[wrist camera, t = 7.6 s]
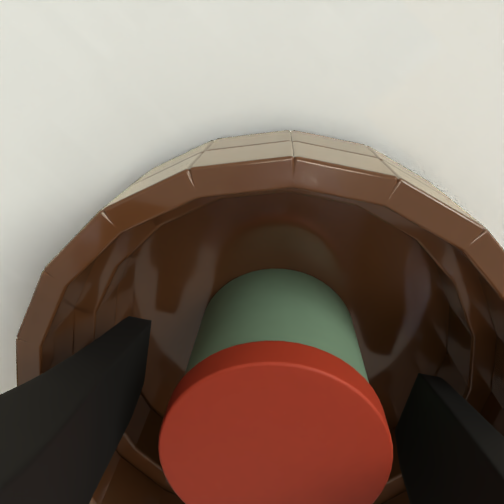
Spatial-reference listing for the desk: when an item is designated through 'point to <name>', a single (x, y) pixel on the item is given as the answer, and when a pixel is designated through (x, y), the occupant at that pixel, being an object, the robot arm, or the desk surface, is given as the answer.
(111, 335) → the robot arm
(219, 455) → the container
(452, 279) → the bowl
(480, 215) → the desk surface
